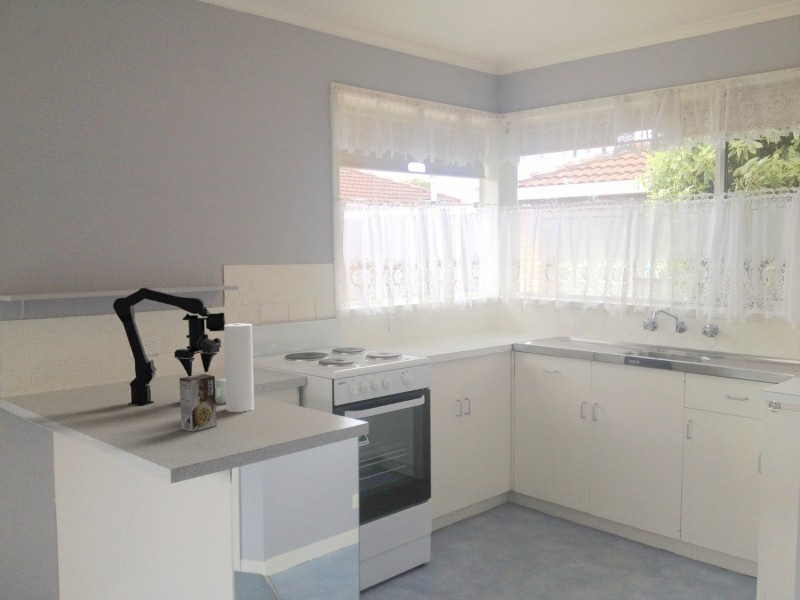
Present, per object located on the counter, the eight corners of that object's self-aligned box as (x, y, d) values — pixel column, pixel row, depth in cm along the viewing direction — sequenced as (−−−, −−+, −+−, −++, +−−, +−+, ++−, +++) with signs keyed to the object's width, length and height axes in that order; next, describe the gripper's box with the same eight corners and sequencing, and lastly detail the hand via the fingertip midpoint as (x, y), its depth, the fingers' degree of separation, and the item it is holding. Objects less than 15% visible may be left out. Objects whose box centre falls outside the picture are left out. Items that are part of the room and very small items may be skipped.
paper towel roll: (247, 412, 247) (245, 324, 245) (221, 411, 249) (219, 324, 247) (258, 406, 257) (256, 322, 255) (233, 406, 258) (231, 322, 256)
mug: (224, 405, 260) (223, 383, 259) (208, 403, 263) (207, 382, 262) (239, 400, 268) (238, 379, 268) (223, 399, 271) (223, 378, 270)
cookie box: (205, 423, 232) (203, 373, 231) (217, 426, 228) (215, 375, 227) (180, 429, 225) (178, 377, 224) (192, 432, 221) (191, 379, 220)
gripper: (197, 335, 254) (199, 379, 255) (230, 329, 271) (231, 371, 272) (172, 334, 259) (174, 377, 260) (206, 329, 276) (207, 369, 277)
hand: (198, 374), depth 267 cm, fingers open, 9 cm apart
